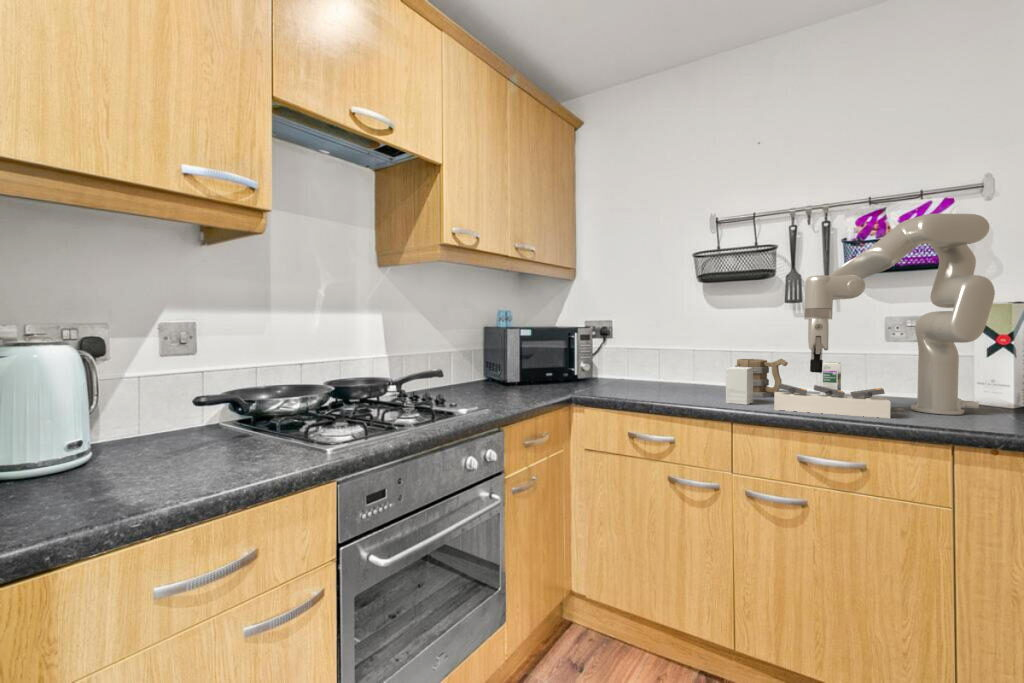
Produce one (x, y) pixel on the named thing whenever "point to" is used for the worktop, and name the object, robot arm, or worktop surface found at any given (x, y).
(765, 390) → the tankard
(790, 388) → the rocker
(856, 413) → the power strip
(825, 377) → the syrup box
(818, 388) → the rocker
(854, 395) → the rocker
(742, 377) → the supplement box
